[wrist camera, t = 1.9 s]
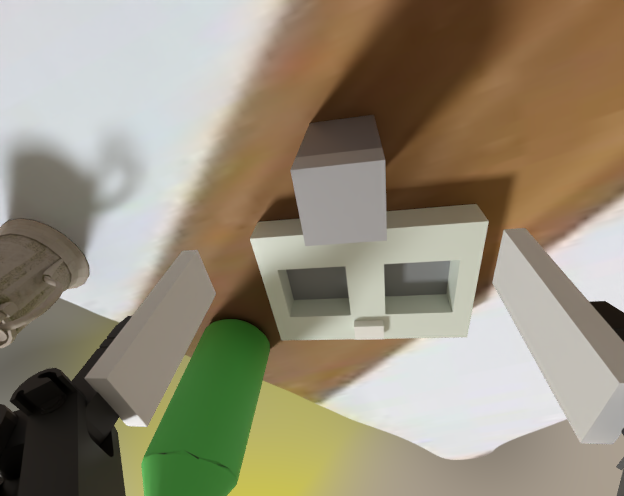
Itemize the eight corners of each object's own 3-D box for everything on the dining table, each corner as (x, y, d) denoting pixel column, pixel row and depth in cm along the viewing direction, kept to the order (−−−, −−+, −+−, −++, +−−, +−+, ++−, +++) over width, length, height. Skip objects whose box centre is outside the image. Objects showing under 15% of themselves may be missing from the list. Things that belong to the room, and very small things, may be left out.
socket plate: (257, 221, 31) (247, 243, 28) (476, 203, 28) (492, 226, 25) (285, 320, 39) (280, 346, 36) (459, 315, 35) (469, 343, 32)
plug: (309, 123, 25) (290, 170, 17) (373, 114, 24) (385, 159, 16) (318, 181, 28) (305, 246, 20) (376, 175, 27) (386, 240, 19)
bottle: (194, 318, 40) (34, 616, 20) (256, 310, 38) (150, 632, 18) (223, 360, 45) (118, 636, 25) (280, 355, 43) (217, 651, 23)
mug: (41, 291, 40) (-57, 376, 31) (-20, 226, 35) (-163, 304, 25) (138, 278, 37) (62, 368, 28) (86, 205, 32) (-30, 284, 22)
